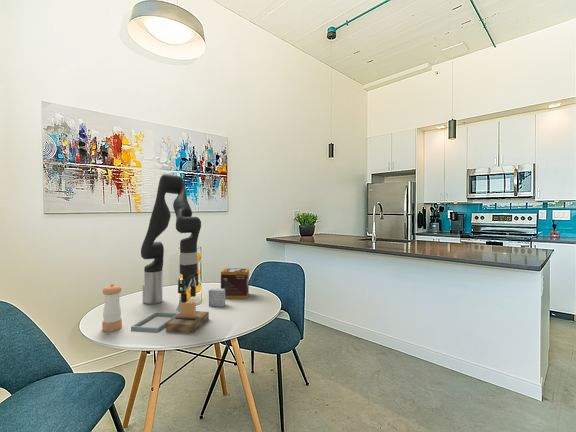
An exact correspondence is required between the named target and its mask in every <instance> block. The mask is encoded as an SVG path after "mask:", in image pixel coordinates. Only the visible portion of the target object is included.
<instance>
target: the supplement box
mask: <svg viewBox="0 0 576 432" xmlns="http://www.w3.org/2000/svg"><path fill="white" fill-rule="evenodd" d="M249 271H250V269H249V268H224V269H223V270H221V272H220V289H225V299H247V298H248V296H249V292H250V291H249V287H250V283H249V282H250V281H249V277H250V272H249Z"/></svg>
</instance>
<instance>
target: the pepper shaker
mask: <svg viewBox="0 0 576 432" xmlns="http://www.w3.org/2000/svg"><path fill="white" fill-rule="evenodd" d="M121 292H122V287H121V286H120V285H117V284H115V283H110V285H107V286H105V287H104V288H103V289H102V294H103V295H104V306H103V313H102V318H103V319H102V325H101V326H102V329H101V330H102V331H104V332H114V331H117V330H120V329H121V328H122V327H123V323H122V322H123V319H122V310H121V308H122V307H121V303H120V293H121Z"/></svg>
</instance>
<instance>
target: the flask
mask: <svg viewBox="0 0 576 432" xmlns="http://www.w3.org/2000/svg"><path fill="white" fill-rule="evenodd" d="M187 302H189V300H188V299H187ZM176 311H177V312H179V313H181V296H180V297H179V302H178V304H177V307H176Z"/></svg>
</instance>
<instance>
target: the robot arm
mask: <svg viewBox="0 0 576 432" xmlns="http://www.w3.org/2000/svg"><path fill="white" fill-rule="evenodd" d="M166 194H173V195H177V196H176V198H174V201H173V203H172V207H173V211H174V213H175V229H176V231H177V232H178V233H180V234H190V235H189V237H185V238H182V239H181V240H180V241H179V245H180V246H179V274H180V275H182V276H181V277H182V278H178V280H177V294H180V297H181V302H182V303H186V302H187V300H188V290H190V291H189V292H190V297H191V298H195V297H196V296H197V293H196V292H197V287H198V286H199V273H198V268H199V266H198V263H199V262H198V261H199V260H198V241H199V235H200V231H201V229H202V222H201V219H200V218H199V217H198V216H193V210H192V208H191V206H190V204H189V201H188V195H187V190H186V185H185V181H184V179H183V177H182V176H179V175H175V174H167V173H163V174H162V175H161V176H160V178H159V181H158V187H157V192H156V197H155V201H154V205H153V209H152V212H151V216H150V219H149V223H148V224H149V225H148V227H147V231H146V235H145V236H144V239H143V242H142V245H141V248H140V255H141V258H142V259H143V260H152V262H151V263H150V262H149V264H146V265H145V266H144V267H143V268H144V269H143V270H144V272H143V273H144V277H143V278H144V280H143V281H144V282H143V283H144V284H143V285H142V303H144V304H146V305H152V304H153V305H154V304H155V305H156V304H159V303H162V302H163V297H164V296H163V267H164V256H165V255H164V254H165V250H164V249H165V248H164V244H163V243H162V241H155V240H156V239H157V238H158V237H159V236H160V235H161V234H162V233H164V232H165V230H166V229H167V228H168V226H169V223H170V220H171V217H172V216H171V215H172V214H171V210H170V209H169V207H168V204H167V202H166V198H165V197H166Z"/></svg>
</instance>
